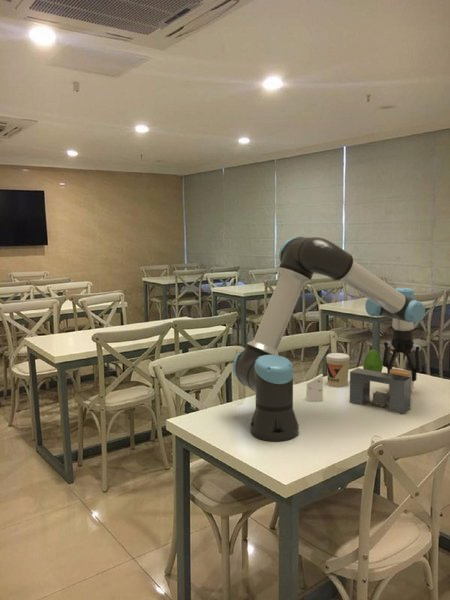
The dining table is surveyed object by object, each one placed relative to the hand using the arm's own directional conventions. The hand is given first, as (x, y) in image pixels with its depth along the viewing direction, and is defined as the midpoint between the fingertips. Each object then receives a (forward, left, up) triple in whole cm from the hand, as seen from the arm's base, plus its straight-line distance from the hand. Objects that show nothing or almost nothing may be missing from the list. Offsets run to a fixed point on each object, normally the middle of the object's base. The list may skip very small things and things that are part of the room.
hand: (401, 386), depth 194 cm
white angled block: (-28, +22, -2) cm, 35 cm away
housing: (-20, 0, -2) cm, 20 cm away
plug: (-9, 0, -2) cm, 9 cm away
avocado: (+12, +17, -2) cm, 21 cm away
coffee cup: (-6, +24, -2) cm, 25 cm away
